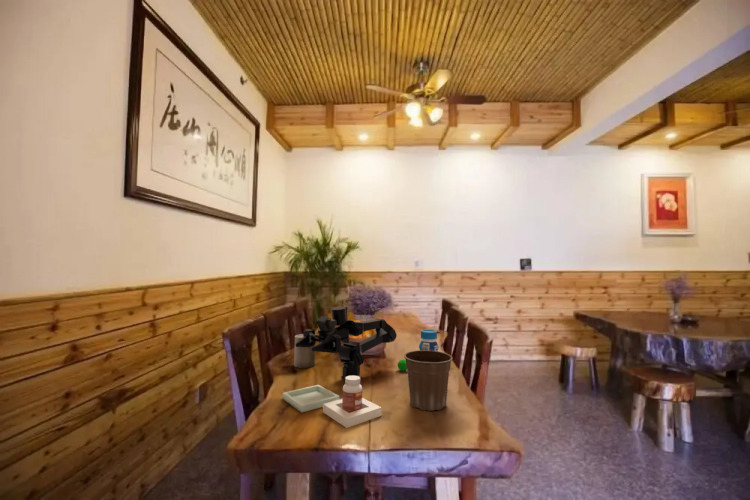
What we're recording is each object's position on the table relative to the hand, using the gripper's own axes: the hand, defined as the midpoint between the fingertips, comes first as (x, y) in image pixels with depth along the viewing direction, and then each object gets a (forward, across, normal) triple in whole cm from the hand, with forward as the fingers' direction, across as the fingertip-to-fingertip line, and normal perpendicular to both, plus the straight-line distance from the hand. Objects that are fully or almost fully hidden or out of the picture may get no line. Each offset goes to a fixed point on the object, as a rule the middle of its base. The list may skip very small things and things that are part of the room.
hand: (303, 347), depth 118 cm
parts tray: (+4, +6, +16) cm, 18 cm away
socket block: (+2, +24, +16) cm, 29 cm away
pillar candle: (-21, -29, +20) cm, 41 cm away
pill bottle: (+2, +24, +17) cm, 29 cm away
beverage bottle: (-43, +24, +24) cm, 55 cm away
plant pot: (-21, +37, +20) cm, 47 cm away
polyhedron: (-46, +10, +24) cm, 53 cm away
